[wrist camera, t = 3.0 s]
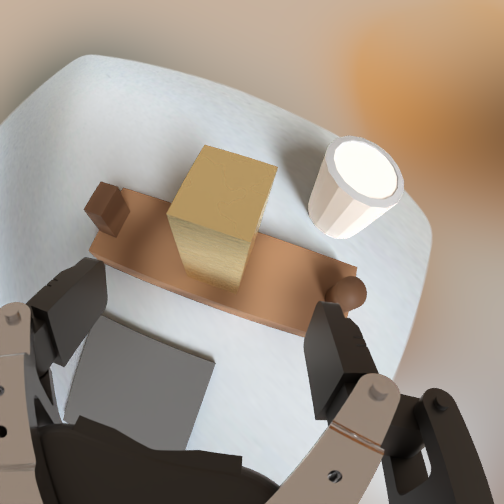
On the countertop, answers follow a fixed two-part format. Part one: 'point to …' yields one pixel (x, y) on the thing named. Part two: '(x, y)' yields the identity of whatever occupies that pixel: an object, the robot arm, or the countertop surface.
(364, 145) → the white cup
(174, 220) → the pale wooden block
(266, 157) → the countertop surface
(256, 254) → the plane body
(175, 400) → the mat
